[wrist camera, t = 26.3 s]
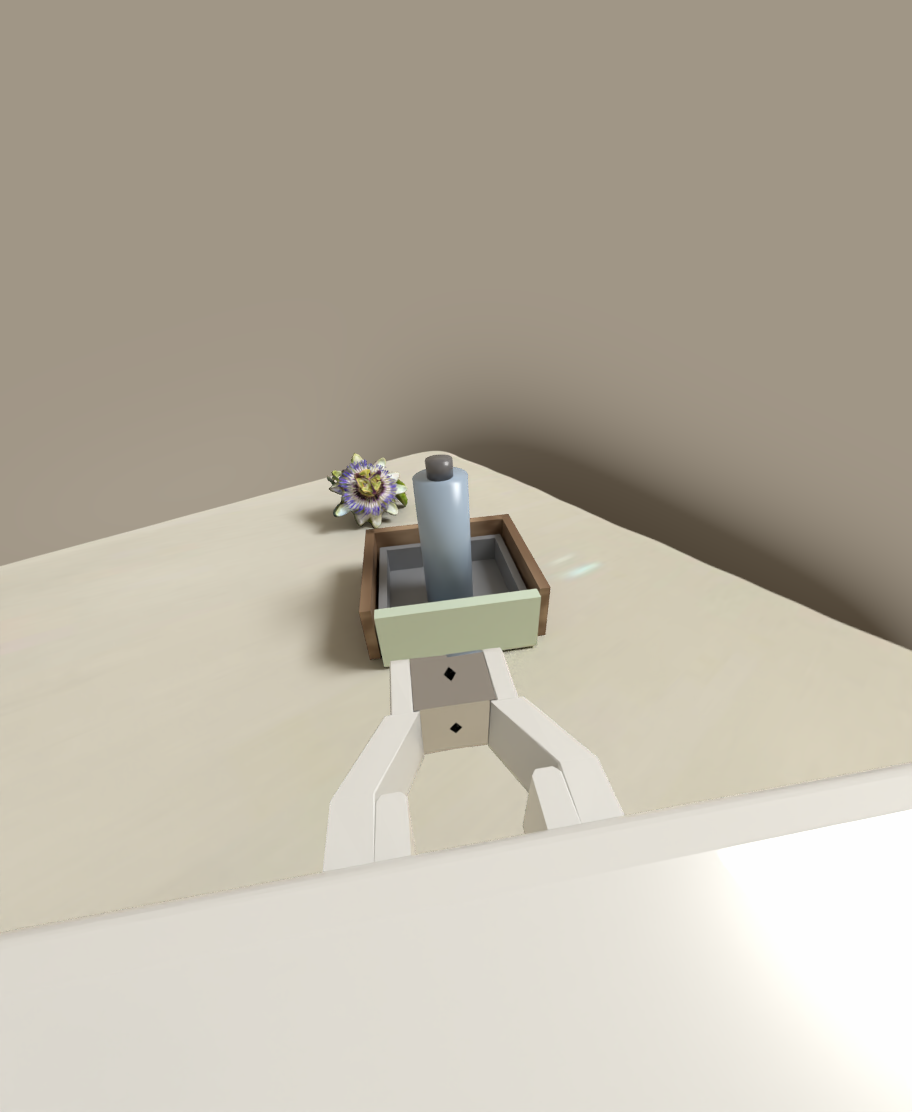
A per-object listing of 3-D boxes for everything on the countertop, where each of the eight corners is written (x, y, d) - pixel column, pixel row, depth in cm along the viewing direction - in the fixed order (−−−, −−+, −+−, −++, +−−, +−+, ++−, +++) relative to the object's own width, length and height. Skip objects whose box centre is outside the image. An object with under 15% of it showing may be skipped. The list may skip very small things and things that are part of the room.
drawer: (384, 668, 37) (374, 618, 33) (384, 574, 49) (377, 532, 46) (536, 646, 38) (541, 596, 35) (499, 560, 51) (500, 518, 47)
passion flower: (382, 555, 63) (333, 519, 54) (352, 520, 70) (303, 482, 60) (431, 505, 64) (391, 460, 54) (396, 474, 70) (355, 429, 60)
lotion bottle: (430, 616, 41) (412, 472, 32) (425, 587, 45) (408, 453, 37) (477, 608, 41) (472, 465, 33) (468, 580, 46) (461, 447, 37)
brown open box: (370, 659, 38) (359, 612, 35) (373, 570, 50) (365, 529, 47) (545, 634, 40) (550, 587, 36) (507, 554, 52) (508, 514, 49)
